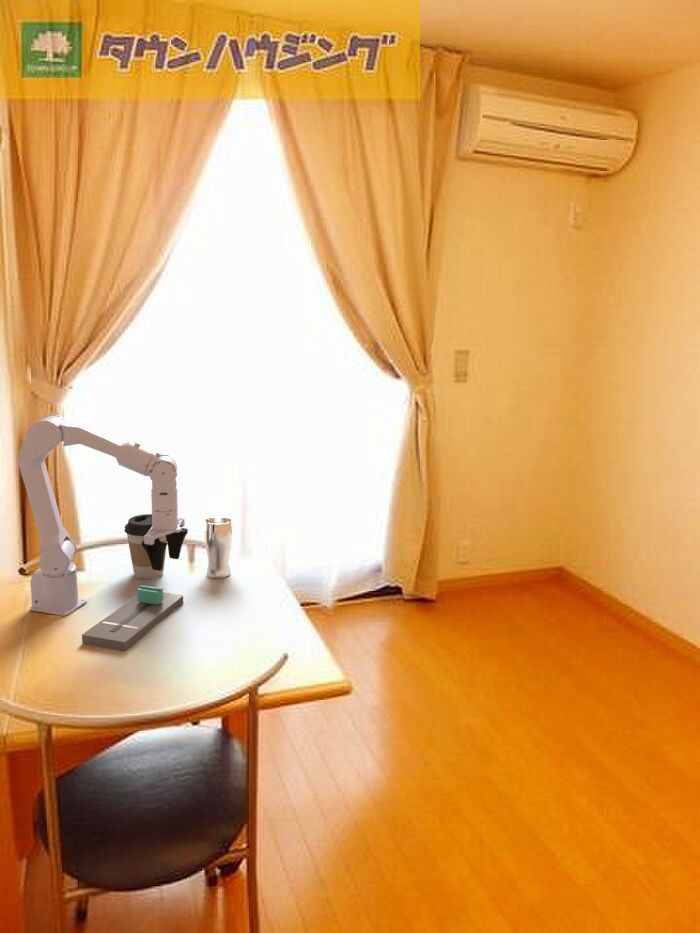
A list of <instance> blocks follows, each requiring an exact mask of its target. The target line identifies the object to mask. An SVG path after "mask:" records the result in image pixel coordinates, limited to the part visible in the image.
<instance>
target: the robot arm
mask: <svg viewBox="0 0 700 933" xmlns="http://www.w3.org/2000/svg"><path fill="white" fill-rule="evenodd" d="M61 442H63V445H62V447H68V446H74V445H75V446H76V445H82V446H84V447H87V448H90V449H92V450H95V451H97V452H100V453H103V454H106V455H108V456H111V457H114V458H115V459H116V462H117V464H118V465H119V466H121V467H123V468H125V469H128V470H131V471H133V472H135V473H138V474H140V475H142V476H144V477H149V479H150V481H151V487H152V488H151V489H150V491H151V494H150V496H151V514H152V527H151V529H150V530H149V532H148V533H147V534H146V535H145V536H144V540H143V541H142V546H143V548H144V549H145V551H146V552H147V554H148V556H149V559H150V562H151V565H152V569H153V570H158V571H161V570H162V568H163V558H164V552H165V549H166V550H167V549H168V556H169V559H173V560H178V559H179V558H180V554H181V551H182V546H183V543H184V540H185V538H186V537H187V535H188V530H189V529H188V528H186V527H185V525H186V524H185V518H184V517H178V488H177V484H178V483H177V480H176V479H177V477H178V472H177V470H178V466H177V462H176V461H175V459H174V458H173V457H171V456H169V454H166V453H165V454H164V453H163V454H162V453H161V452H160V451H156V452H155V451H152V450H151V449H148V448H145V447H143V446H141V445H142V443H141V442H139V441H135V442H132V441H127V442H125V443H120V442H118V441H116V440H114V439H112V438H110V437H108V436H106V435H104V434H101V433H100V432H98V431H96V430H93V429H91V428H89V427H87V426H86V425H83V424H81V423H79V422H77V421H75V420H72V419H69V418H64V417H62V416H61V415H59V414H48V415H45V416H44V417H42V418H41V419H40V420H39V421H36V422H35V423H34V424H33V425H32V426H31V427H30V428H29V429H28V430H27V431H25V433H24V438H23V441H22V444H21V447H20V450H19V452H18V454H17V455H18V456H17V463H18V467H19V470H20V474H21V478H22V480H23V483H24V487H25V491H26V493H27V496H28V497H27V498H28V500H29V503H30V508H31V511H32V515H33V517H34V521H35V525H36V527H37V532H38V534H39V539H38V541H39V543H38V547H39V548H38V549H39V553H40V555H39V561H38V565H39V568H37V569H36V570H35V571H34V573H32V575H31V580H30V593H31V595H30V596H31V605H32V606H31V607H29V611H31V612H32V611H33V612H38V613H45V614H51V615H56V616H61V617H62V616H63V617H65V616H67V615H69V614H71V613H73V611H75V610H77V609H78V608H80V607H82V606H83V605H86V603H87V600H86V599H82V598H79V594H78V592H79V591H78V574H77V566H76V564H75V563H74V561H73V558H75V556H76V554H77V551H78V550H77V544H76V543H75V541H74V540H72V539H71V537H70V535H69V533H68V530H67V529H66V528H65V527H64V524H63V522H62V518H61V514H60V511H59V508H58V504H57V501H56V497H55V493H54V491H53V487H52V482H51V479H50V476H49V472H48V469H47V465H46V462H45V460H46V459H47V457H48V456H49V454H51V452H52V451H53V450H54V449H55V448H56V447H58V446H59V445H60V444H61ZM163 536H166V539H167V543H163V542H161V541H160V538H161V537H163Z"/></svg>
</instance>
